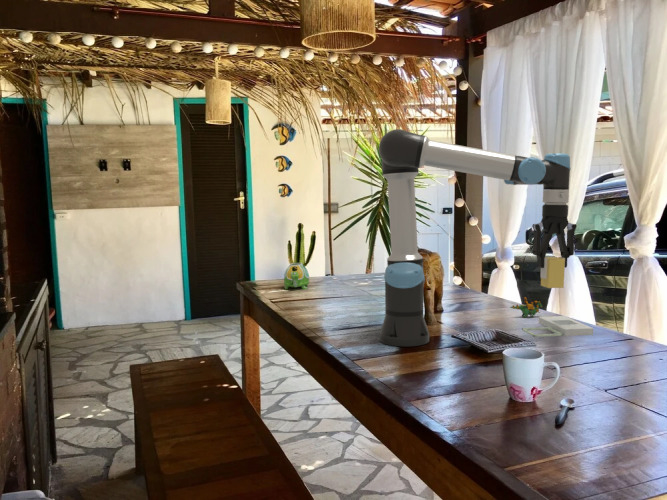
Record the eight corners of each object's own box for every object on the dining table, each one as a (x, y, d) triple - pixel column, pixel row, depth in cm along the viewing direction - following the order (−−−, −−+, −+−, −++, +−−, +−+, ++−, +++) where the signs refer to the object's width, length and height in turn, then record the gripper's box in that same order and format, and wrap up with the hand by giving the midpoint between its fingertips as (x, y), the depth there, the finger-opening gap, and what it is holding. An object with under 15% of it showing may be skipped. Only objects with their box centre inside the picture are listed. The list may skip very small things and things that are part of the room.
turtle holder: (280, 292, 269) (280, 266, 268) (285, 286, 287) (285, 262, 286) (307, 292, 269) (306, 266, 268) (310, 285, 287) (310, 261, 286)
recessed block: (564, 339, 177) (565, 329, 177) (538, 325, 195) (538, 316, 195) (593, 337, 178) (593, 328, 178) (564, 324, 196) (564, 315, 195)
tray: (534, 339, 177) (534, 335, 177) (521, 332, 186) (522, 328, 186) (562, 338, 178) (562, 333, 177) (548, 331, 186) (549, 327, 186)
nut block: (548, 288, 180) (549, 259, 179) (540, 285, 185) (541, 257, 184) (563, 287, 180) (564, 259, 180) (555, 285, 185) (556, 257, 185)
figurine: (544, 320, 203) (544, 297, 202) (511, 321, 202) (511, 298, 201) (540, 318, 206) (540, 295, 205) (507, 319, 205) (508, 296, 204)
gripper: (533, 204, 175) (530, 280, 178) (589, 204, 177) (585, 279, 180) (522, 203, 183) (519, 276, 185) (576, 203, 185) (573, 276, 187)
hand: (552, 277), depth 182 cm, fingers closed on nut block, 5 cm apart
